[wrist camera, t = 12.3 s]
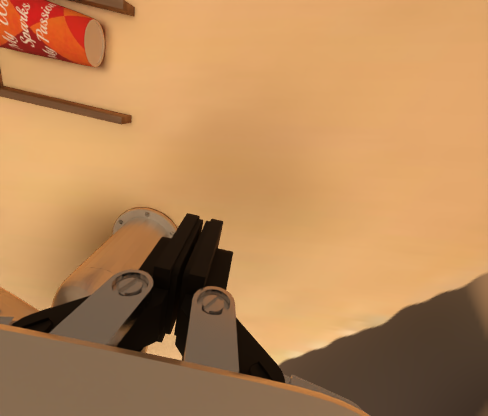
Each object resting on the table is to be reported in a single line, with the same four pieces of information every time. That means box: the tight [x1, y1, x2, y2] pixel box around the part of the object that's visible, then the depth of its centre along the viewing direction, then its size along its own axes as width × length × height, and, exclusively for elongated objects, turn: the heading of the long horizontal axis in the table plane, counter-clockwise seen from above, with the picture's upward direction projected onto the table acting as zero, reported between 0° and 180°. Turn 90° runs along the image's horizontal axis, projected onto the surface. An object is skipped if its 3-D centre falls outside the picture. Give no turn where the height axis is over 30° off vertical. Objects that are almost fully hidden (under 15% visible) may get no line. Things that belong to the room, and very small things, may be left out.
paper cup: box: [0, 0, 105, 67], centre depth 33 cm, size 8×8×14 cm
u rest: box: [0, 0, 134, 124], centre depth 36 cm, size 15×21×3 cm
